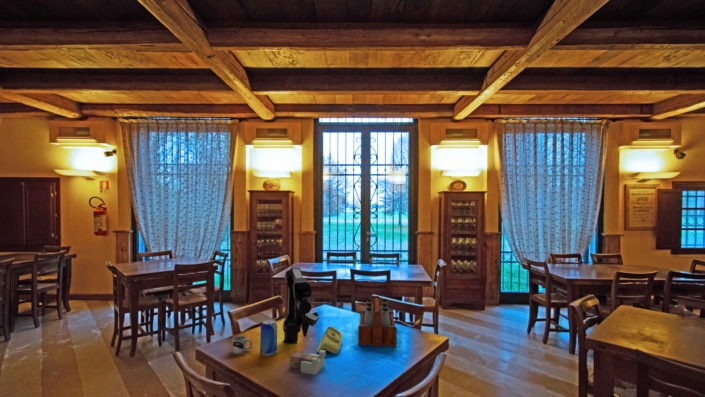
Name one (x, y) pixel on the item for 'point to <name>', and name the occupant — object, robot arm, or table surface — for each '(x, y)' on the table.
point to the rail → (299, 359)
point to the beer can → (268, 337)
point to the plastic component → (330, 340)
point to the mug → (240, 344)
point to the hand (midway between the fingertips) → (300, 340)
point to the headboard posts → (314, 363)
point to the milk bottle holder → (377, 325)
